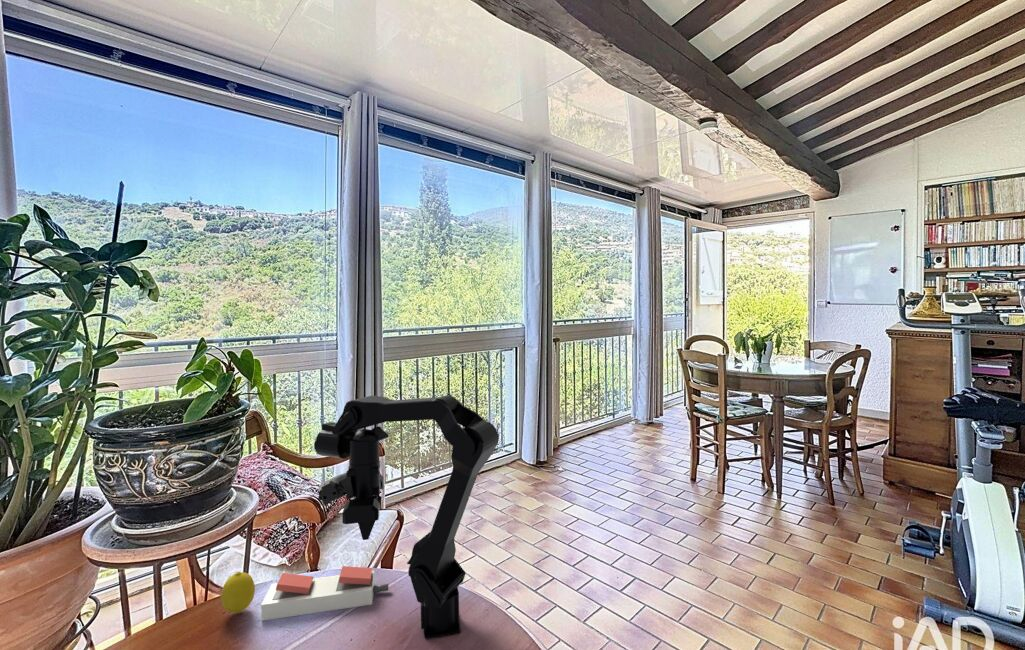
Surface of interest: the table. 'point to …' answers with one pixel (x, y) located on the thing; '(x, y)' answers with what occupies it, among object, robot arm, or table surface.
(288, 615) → the power strip
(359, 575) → the block
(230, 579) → the lemon
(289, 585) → the block
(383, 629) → the table surface
